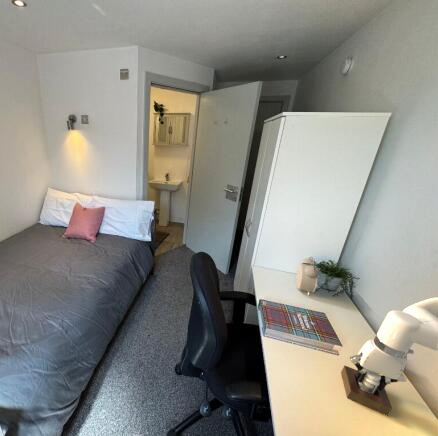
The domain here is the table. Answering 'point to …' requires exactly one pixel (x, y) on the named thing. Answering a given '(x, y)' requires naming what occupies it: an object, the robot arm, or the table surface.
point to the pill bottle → (370, 382)
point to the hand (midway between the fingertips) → (368, 382)
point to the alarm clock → (307, 275)
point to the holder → (365, 393)
